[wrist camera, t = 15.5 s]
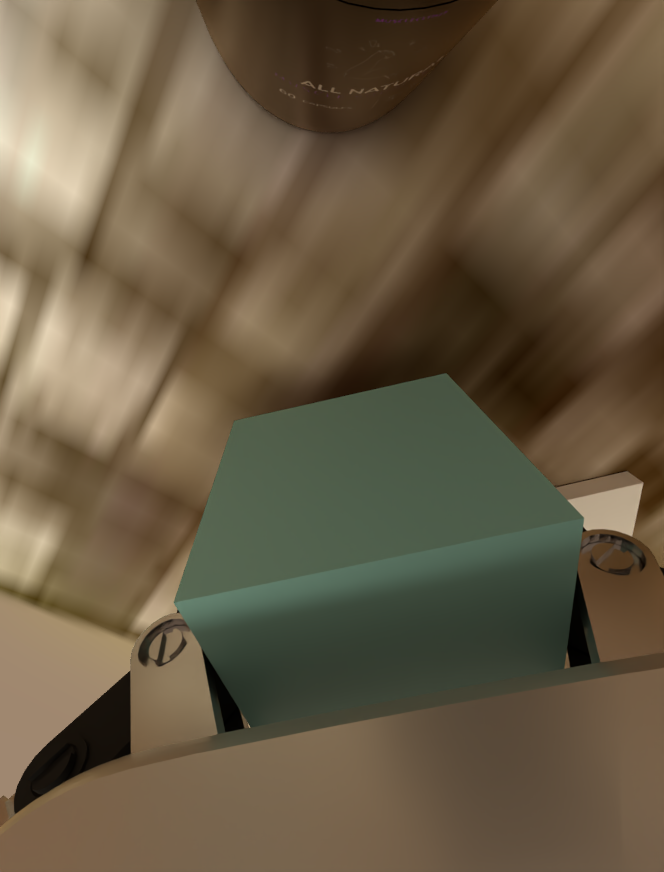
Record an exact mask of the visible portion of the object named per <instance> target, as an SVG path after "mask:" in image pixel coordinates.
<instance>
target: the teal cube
mask: <svg viewBox="0 0 664 872" xmlns="http://www.w3.org/2000/svg"><path fill="white" fill-rule="evenodd" d="M583 524H584V517H583V516H582V515H581V514H580V513H579V512H578V511H577V510H576V509H575V508H574V507H573V506H572V505H571V504H570V502H569V501H568V500H567V499H566V498H565V497H564V496H563V495H562V494H561V493H560V492H559V491H558V490H557V489H556V488H555V487H554V486H553V485H552V484H551V483H550V481H549V480H548V479H547V478H546V477H545V476H544V475H543V474H542V473H541V472H540V471H539V470H538V469H537V468H536V467H535V466H534V465H533V464H532V463H531V462H530V461H529V459H528V458H527V457H526V456H525V455H524V454H523V453H522V452H521V451H520V450H519V449H518V448H517V447H516V446H515V445H514V444H513V443H512V442H511V441H510V440H509V438H508V437H507V436H506V435H505V434H504V433H503V432H502V431H501V430H500V429H499V428H498V427H497V426H496V425H495V424H494V423H493V422H492V421H491V420H490V419H489V418H488V416H487V415H486V414H485V413H484V412H483V411H482V410H481V409H480V408H479V407H478V406H477V405H476V404H475V403H474V402H473V401H472V400H471V399H470V398H469V397H468V395H467V394H466V393H465V392H464V391H463V390H462V389H461V388H460V387H459V386H458V385H457V384H456V383H455V382H454V381H453V380H452V379H451V378H450V377H449V376H448V374H447V373H445V374H440V375H436V376H432V377H427V378H423V379H418V380H414V381H409V382H405V383H400V384H396V385H392V386H387V387H383V388H378V389H374V390H369V391H365V392H360V393H356V394H351V395H347V396H343V397H338V398H334V399H329V400H325V401H320V402H316V403H311V404H307V405H303V406H298V407H294V408H289V409H285V410H280V411H276V412H271V413H267V414H262V415H258V416H254V417H249V418H245V419H240V420H236V421H234V423H233V426H232V429H231V432H230V435H229V438H228V441H227V444H226V447H225V450H224V453H223V456H222V459H221V462H220V465H219V468H218V471H217V474H216V477H215V480H214V483H213V486H212V489H211V492H210V495H209V498H208V501H207V504H206V507H205V510H204V513H203V516H202V519H201V522H200V525H199V528H198V531H197V534H196V537H195V540H194V543H193V546H192V549H191V552H190V555H189V558H188V561H187V564H186V567H185V570H184V573H183V576H182V579H181V582H180V585H179V588H178V591H177V594H176V597H175V600H174V604H175V606H176V607H177V609H178V611H179V612H180V614H181V615H182V617H183V619H184V620H185V622H186V623H187V625H188V627H189V628H190V630H191V632H192V633H193V635H194V636H195V638H196V640H197V641H198V643H199V644H200V646H201V648H202V649H203V651H204V653H205V654H206V656H207V657H208V659H209V661H210V662H211V664H212V666H213V667H214V669H215V670H216V672H217V674H218V675H219V677H220V678H221V680H222V682H223V683H224V685H225V687H226V688H227V690H228V691H229V693H230V695H231V696H232V698H233V699H234V701H235V703H236V704H237V706H238V708H239V709H240V711H241V712H242V714H243V716H244V717H245V719H246V721H247V722H248V724H249V725H250V727H256V726H262V725H267V724H272V723H277V722H282V721H287V720H293V719H298V718H303V717H308V716H313V715H318V714H324V713H329V712H334V711H339V710H344V709H350V708H355V707H360V706H366V705H371V704H376V703H382V702H387V701H392V700H397V699H403V698H408V697H413V696H419V695H424V694H429V693H435V692H440V691H446V690H451V689H456V688H462V687H467V686H472V685H478V684H483V683H489V682H494V681H500V680H505V679H511V678H516V677H522V676H527V675H533V674H538V673H544V672H549V671H555V670H560V669H564V668H565V660H566V653H567V645H568V637H569V630H570V622H571V615H572V607H573V599H574V592H575V584H576V577H577V569H578V562H579V554H580V546H581V539H582V531H583Z"/></svg>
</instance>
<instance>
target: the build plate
mask: <svg viewBox="0 0 664 872" xmlns="http://www.w3.org/2000/svg"><path fill="white" fill-rule="evenodd" d="M642 487H643V482H642V481H640V480H639V479H637V478H636V477H635V476H633V475H632V474H630V473H629V472H628V471H626V472H622V473H617V474H613V475H608V476H604V477H600V478H595V479H591V480H586V481H582V482H578V483H573V484H569V485H565V486H560V487H556V489H557V490H558V491H559V492H560V493H561V494H562V495H563V496H564V497H565V498H566V499H567V500H568V501H569V502H570V504H571V505H572V506H573V507H574V508H575V509H576V510H577V511H578V512H579V513H580V514H581V515H582V516H583V517H584V524H583V527H584V528H585V529H586V530H587V531H589V530H592V529H607V530H614V531H618V532H621V533H624V534H627V535H630V536H631V537H632V534H633V529H634V525H635V520H636V515H637V510H638V506H639V501H640V496H641V492H642Z"/></svg>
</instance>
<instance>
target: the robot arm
mask: <svg viewBox="0 0 664 872" xmlns="http://www.w3.org/2000/svg"><path fill="white" fill-rule="evenodd" d="M130 664H131V666H130V671H129V672H128V673H127V674H126V675H125V676H124V677H122V678H121V679H120V680H119V681H118V682H117V683H116V684H115V685H114V686H112V687H111V688H110V689H109V690H108V691H107V692H106V693H104V694H103V695H102V696H101V697H100V698H99V699H98V700H97V701H95V702H94V703H93V704H92V705H91V706H90V707H89V708H88V709H86V710H85V711H84V712H83V713H82V714H81V715H80V716H78V717H77V718H76V719H75V720H74V721H73V722H72V723H71V724H69V725H68V726H67V727H66V728H65V729H64V730H63V731H62V732H61V733H59V734H58V735H57V736H56V737H55V738H54V739H53V740H52V741H50V742H49V743H48V744H47V745H46V746H45V747H44V748H43V749H42V750H41V751H40V752H39V753H38V754H37V755H36V756H35V757H34V759H33V760H32V762H31V763H30V764H29V766H28V767H27V769H26V770H25V772H24V773H23V776H22V778H21V780H20V781H19V784H18V786H17V789H16V793H15V794H14V795H13V796H11V798H9V799H8V798H6V797H5V796H2V797H1V798H0V872H664V568H661V567H659V565H658V563H657V561H656V558H655V556H654V555H653V554H652V552H651V551H650V549H649V548H648V547H647V546H645V545H644V544H643V543H642V542H641V541H639V540H637V539H635V538H633V537H631V536H630V535H627V534H624V533H621V532H618V531H614V530H607V529H592V530H589V531H587V530H586V529H585V528H584V527H583V531H582V539H581V546H580V554H579V562H578V569H577V577H576V584H575V592H574V599H573V607H572V615H571V622H570V630H569V637H568V645H567V653H566V660H565V668H566V669H560V670H555V671H549V672H544V673H538V674H533V675H527V676H522V677H516V678H511V679H505V680H500V681H494V682H489V683H483V684H478V685H472V686H467V687H462V688H456V689H451V690H446V691H440V692H435V693H429V694H424V695H419V696H413V697H408V698H403V699H397V700H392V701H387V702H382V703H376V704H371V705H366V706H360V707H355V708H350V709H344V710H339V711H334V712H329V713H324V714H318V715H313V716H308V717H303V718H298V719H293V720H287V721H282V722H277V723H272V724H267V725H262V726H256V727H251V728H249V727H248V723H247V721H246V719H245V717H244V716H243V714H242V712H241V711H240V709H239V708H238V706H237V704H236V703H235V701H234V699H233V698H232V696H231V695H230V693H229V691H228V690H227V688H226V687H225V685H224V683H223V682H222V680H221V678H220V677H219V675H218V674H217V672H216V670H215V669H214V667H213V666H212V664H211V662H210V661H209V659H208V657H207V656H206V654H205V653H204V651H203V649H202V648H201V646H200V644H199V643H198V641H197V640H196V638H195V636H194V635H193V633H192V632H191V630H190V628H189V627H188V625H187V623H186V622H185V620H184V619H183V617H182V615H181V614H180V612H179V611H177V613H173V614H170V615H167V616H164V617H162V618H160V619H159V620H157V621H155V622H154V623H152V624H151V625H150V626H149V627H148V628H147V629H146V630H145V631H144V632H143V633H142V634H141V636H140V637H139V638H138V639H137V641H136V643H135V645H134V647H133V649H132V653H131V659H130Z"/></svg>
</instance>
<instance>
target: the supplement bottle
mask: <svg viewBox="0 0 664 872" xmlns="http://www.w3.org/2000/svg"><path fill="white" fill-rule="evenodd" d="M497 1H498V0H196V2H197V5H198V7H199V10H200V12H201V14H202V17H203V19H204V22H205V24H206V27H207V29H208V32H209V34H210V36H211V38H212V40H213V42H214V44H215V46H216V48H217V50H218V52H219V54H220V55H221V57H222V59H223V60H224V62H225V64H226V65H227V67H228V68H229V70H230V71H231V73H232V74H233V75H234V77H235V78H236V80H237V81H238V82H239V83H240V85H241V86H242V87H243V88H244V89H245V90H246V92H247V93H248V94H249V95H250V96H251V97H252V98H253V99H254V100H255V101H256V102H258V103H259V104H260V105H261V106H262V107H264V108H265V109H266V110H267V111H269V112H270V113H272V114H273V115H275V116H276V117H278V118H280V119H282V120H284V121H285V122H287V123H289V124H292V125H294V126H297V127H300V128H303V129H307V130H311V131H317V132H343V131H348V130H353V129H356V128H359V127H362V126H365V125H367V124H369V123H371V122H373V121H375V120H377V119H379V118H380V117H382V116H383V115H385V114H387V113H388V112H389V111H391V110H392V109H393V108H394V107H396V106H397V105H398V104H399V103H400V102H401V101H402V100H403V99H404V98H405V97H407V96H408V95H409V94H410V93H411V92H412V91H413V90H414V89H415V88H416V87H417V86H418V85H419V84H420V83H421V82H422V81H423V79H424V78H425V77H426V76H427V75H428V74H429V73H430V72H431V71H432V70H433V69H434V68H435V67H436V66H437V65H438V64H439V62H440V61H441V60H442V59H443V58H444V57H445V56H446V55H447V54H448V53H449V52H450V51H451V50H452V49H453V48H454V47H455V45H456V44H457V43H458V42H459V41H460V40H461V39H462V38H463V37H464V36H465V35H466V34H467V33H468V32H469V31H470V30H471V28H472V27H473V26H474V25H475V24H476V23H477V22H478V21H479V20H480V19H481V18H482V17H483V16H484V15H485V14H486V13H487V11H488V10H489V9H490V8H491V7H492V6H493V5H494V4H495V3H496V2H497Z"/></svg>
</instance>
